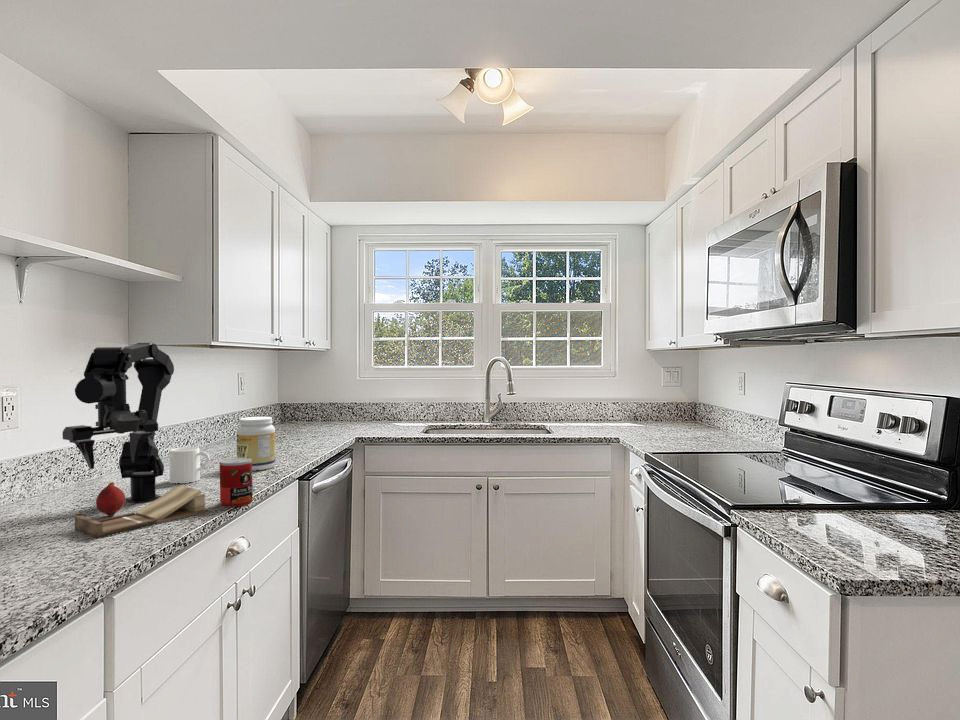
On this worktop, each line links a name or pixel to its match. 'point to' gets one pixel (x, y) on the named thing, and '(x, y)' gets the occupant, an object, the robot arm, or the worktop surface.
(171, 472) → the mug
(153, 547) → the worktop surface
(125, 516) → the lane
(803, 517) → the worktop surface
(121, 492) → the onion
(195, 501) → the ramp
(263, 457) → the supplement tub
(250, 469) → the canned food
